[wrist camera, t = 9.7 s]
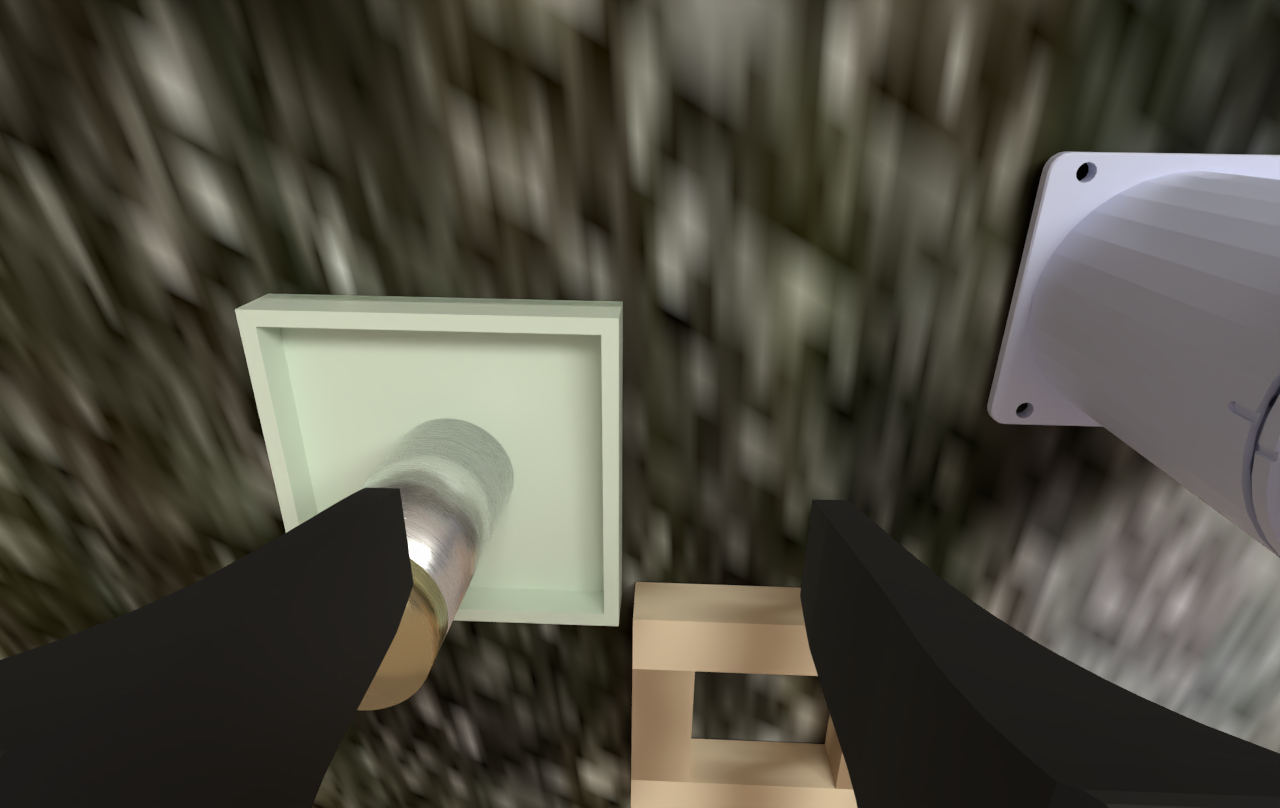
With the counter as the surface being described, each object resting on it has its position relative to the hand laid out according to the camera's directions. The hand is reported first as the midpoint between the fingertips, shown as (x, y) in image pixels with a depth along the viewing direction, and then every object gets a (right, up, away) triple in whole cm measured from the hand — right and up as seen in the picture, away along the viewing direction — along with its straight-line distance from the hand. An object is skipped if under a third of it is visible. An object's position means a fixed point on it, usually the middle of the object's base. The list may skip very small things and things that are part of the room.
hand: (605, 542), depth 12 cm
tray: (-5, +1, +11) cm, 13 cm away
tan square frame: (+5, -9, +15) cm, 18 cm away
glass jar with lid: (-6, 0, +11) cm, 12 cm away
